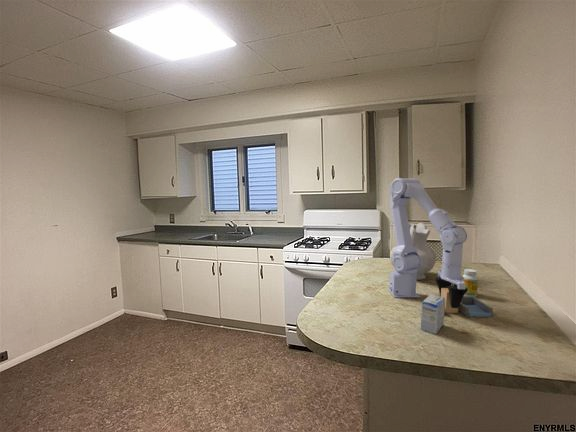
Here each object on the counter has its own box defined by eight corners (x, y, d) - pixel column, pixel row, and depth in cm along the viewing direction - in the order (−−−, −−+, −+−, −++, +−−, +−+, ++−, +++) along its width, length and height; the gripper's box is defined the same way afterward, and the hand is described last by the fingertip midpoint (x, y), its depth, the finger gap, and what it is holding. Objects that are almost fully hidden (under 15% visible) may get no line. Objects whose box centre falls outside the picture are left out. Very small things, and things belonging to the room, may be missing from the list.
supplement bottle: (465, 291, 126) (467, 267, 125) (479, 295, 122) (481, 270, 121) (457, 294, 123) (459, 269, 122) (472, 298, 119) (474, 273, 118)
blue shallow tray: (443, 316, 103) (443, 308, 102) (427, 302, 114) (428, 295, 114) (493, 316, 103) (494, 309, 102) (472, 302, 114) (473, 296, 114)
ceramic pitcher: (440, 288, 133) (448, 229, 131) (391, 281, 136) (399, 224, 133) (426, 273, 155) (433, 222, 152) (384, 268, 158) (390, 218, 155)
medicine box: (428, 321, 99) (429, 293, 98) (443, 325, 96) (445, 297, 96) (420, 330, 93) (421, 301, 92) (436, 334, 90) (438, 305, 89)
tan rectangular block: (445, 312, 106) (446, 292, 105) (440, 307, 110) (441, 288, 109) (457, 312, 106) (459, 292, 105) (451, 308, 110) (453, 288, 109)
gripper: (476, 269, 99) (473, 312, 100) (452, 258, 113) (450, 295, 115) (453, 269, 99) (450, 311, 100) (432, 258, 113) (430, 295, 115)
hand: (449, 303), depth 107 cm, fingers open, 7 cm apart
